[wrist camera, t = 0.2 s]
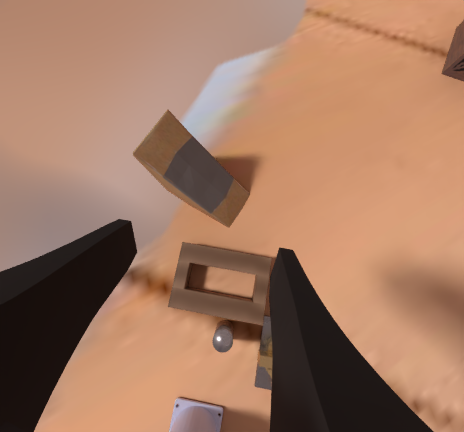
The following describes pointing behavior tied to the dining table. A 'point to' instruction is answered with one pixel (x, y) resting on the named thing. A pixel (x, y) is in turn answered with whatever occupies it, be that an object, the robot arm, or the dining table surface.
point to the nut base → (261, 373)
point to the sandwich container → (190, 171)
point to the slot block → (219, 302)
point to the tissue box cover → (456, 55)
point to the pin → (223, 336)
